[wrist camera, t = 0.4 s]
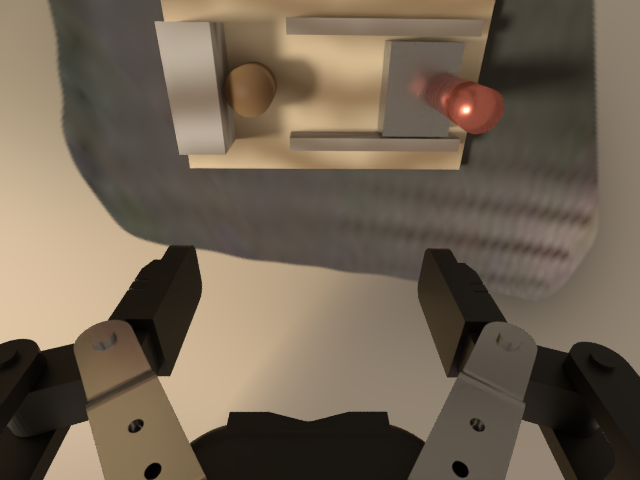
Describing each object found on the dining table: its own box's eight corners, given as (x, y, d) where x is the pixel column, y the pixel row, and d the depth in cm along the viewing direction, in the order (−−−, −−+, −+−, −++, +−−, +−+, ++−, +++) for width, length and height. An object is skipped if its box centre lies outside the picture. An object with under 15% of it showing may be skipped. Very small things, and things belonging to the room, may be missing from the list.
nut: (230, 61, 33) (221, 65, 29) (275, 61, 33) (271, 66, 29) (235, 107, 35) (227, 117, 31) (277, 108, 35) (273, 117, 31)
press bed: (162, -21, 31) (130, -30, 25) (492, -16, 31) (529, -24, 26) (193, 164, 39) (174, 186, 33) (455, 165, 39) (477, 187, 34)
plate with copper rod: (385, 40, 32) (415, 47, 23) (458, 41, 32) (519, 48, 23) (377, 128, 36) (400, 165, 26) (443, 128, 36) (489, 166, 27)
